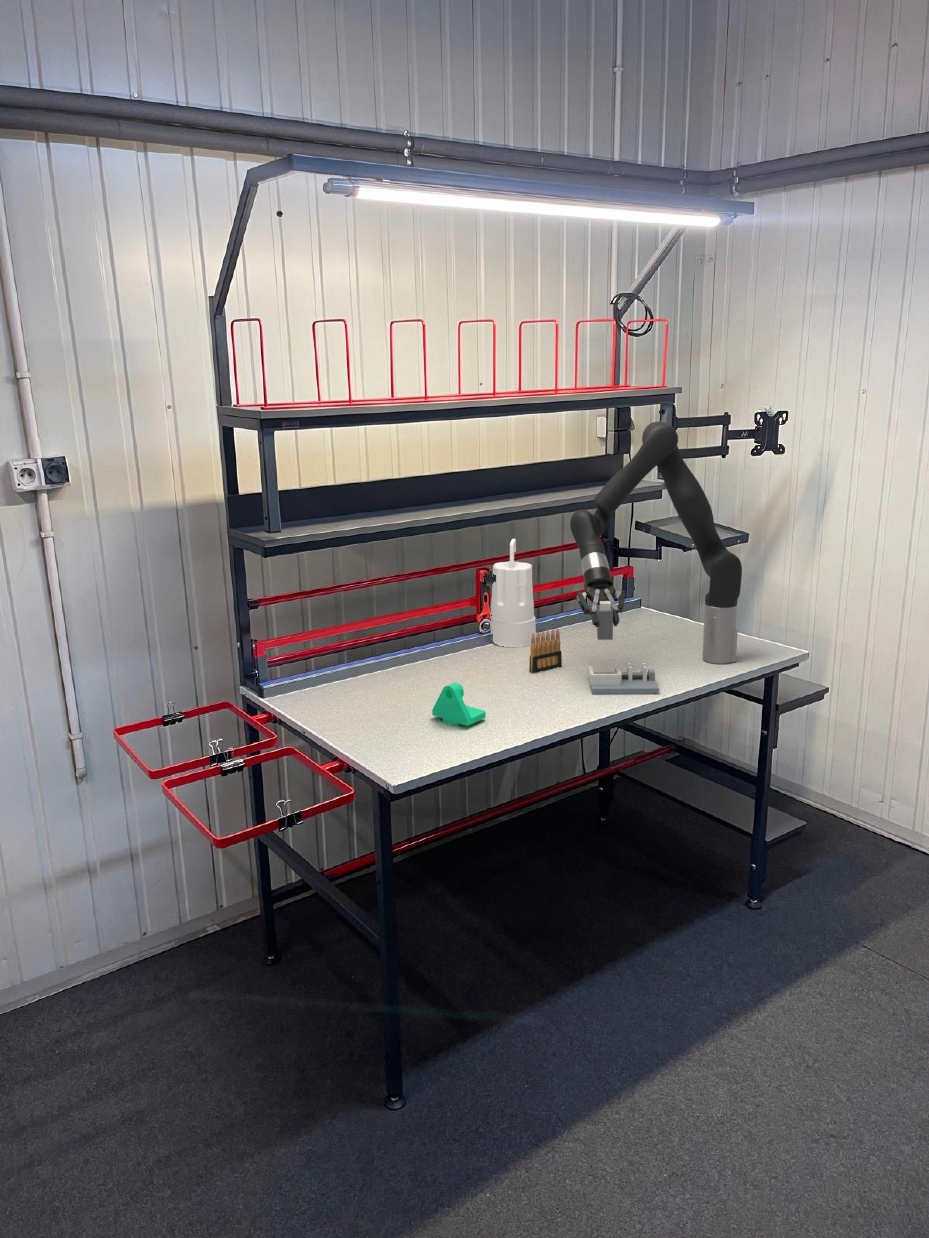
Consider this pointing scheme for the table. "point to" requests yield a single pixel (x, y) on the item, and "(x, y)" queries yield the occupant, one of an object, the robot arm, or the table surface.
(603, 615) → the block
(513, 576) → the white tapered cylinder
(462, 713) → the camera mount
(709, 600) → the robot arm
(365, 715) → the table surface
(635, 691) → the board
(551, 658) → the ammunition clip
